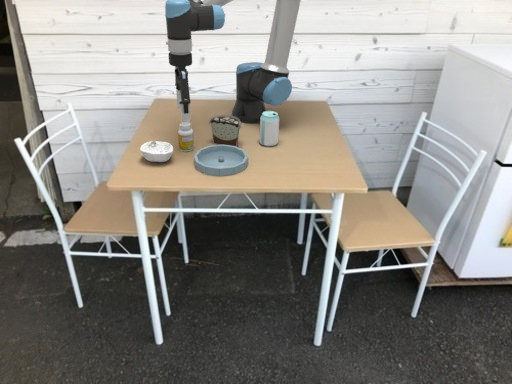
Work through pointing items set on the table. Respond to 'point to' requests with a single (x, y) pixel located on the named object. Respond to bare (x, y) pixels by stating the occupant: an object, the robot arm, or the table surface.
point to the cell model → (157, 151)
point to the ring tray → (221, 160)
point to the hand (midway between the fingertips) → (183, 114)
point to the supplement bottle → (185, 137)
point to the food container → (225, 130)
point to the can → (269, 128)
